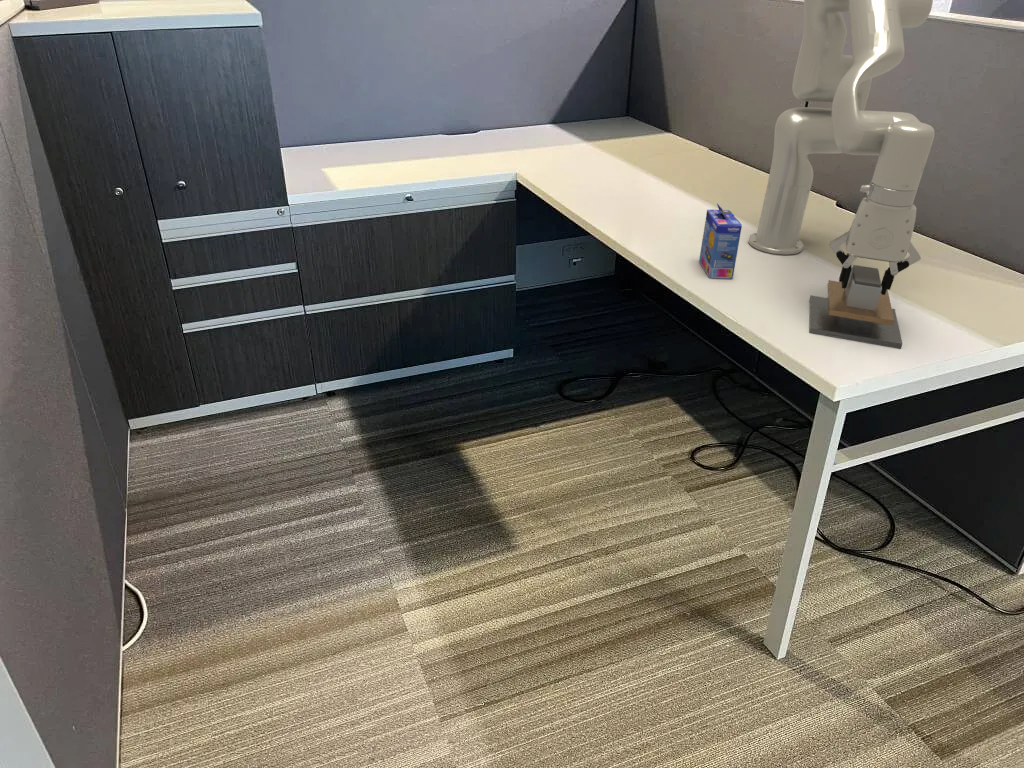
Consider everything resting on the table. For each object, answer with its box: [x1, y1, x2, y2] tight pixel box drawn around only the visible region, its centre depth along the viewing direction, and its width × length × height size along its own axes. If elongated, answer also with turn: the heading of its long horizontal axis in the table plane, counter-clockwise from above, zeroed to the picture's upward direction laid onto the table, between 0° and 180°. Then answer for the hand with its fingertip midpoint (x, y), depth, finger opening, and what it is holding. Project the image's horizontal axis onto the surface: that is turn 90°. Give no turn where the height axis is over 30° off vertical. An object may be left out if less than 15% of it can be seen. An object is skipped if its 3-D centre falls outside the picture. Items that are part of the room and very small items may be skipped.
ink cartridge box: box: [698, 203, 743, 280], centre depth 164 cm, size 10×6×14 cm, turn 2°
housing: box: [845, 264, 882, 311], centre depth 144 cm, size 5×9×5 cm, turn 161°
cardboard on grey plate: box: [808, 279, 903, 350], centre depth 146 cm, size 16×16×5 cm
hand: (863, 288), depth 144 cm, fingers open, 6 cm apart
